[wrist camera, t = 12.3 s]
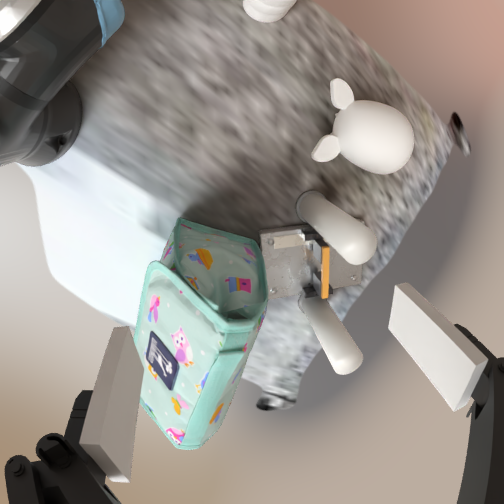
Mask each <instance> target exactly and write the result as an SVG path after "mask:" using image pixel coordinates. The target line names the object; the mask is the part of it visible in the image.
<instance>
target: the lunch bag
mask: <svg viewBox="0 0 504 504" xmlns="http://www.w3.org/2000/svg"><path fill="white" fill-rule="evenodd" d="M268 294H269V292H268V283H267V276H266V268H265V262H264V258H263V255H262V253H261V251H260V249H259V247H258V245H257V242H256V241H255V240H253V239H250V238H246V237H243V236H240V235H236V234H233V233H229V232H225V231H222V230H217V229H213V228H210V227H207V226H204V225H201V224H198V223H194V222H190V221H188V220H186V219H183V218H178V219H177V222H176V225H175V227H174V229H173V231H172V233H171V235H170V238H169V240H168V242H167V244H166V246H165V249H164V251H163V254H162V257H161V260H160V262H159V261H153V262H151V263H150V264H149V266H148V268H147V271H146V275H145V280H144V285H143V290H142V295H141V300H140V306H139V313H138V319H137V324H136V329H135V334H134V338H133V340H134V343H135V346H136V348H137V351H138V354H139V356H140V359H141V362H142V364H143V367H144V375H143V381H142V388H141V394H140V401H139V402H140V404H141V405H142V406H143V408H144V409H145V410H146V412H147V413H148V414H149V416H150V417H151V418H152V419H153V420H154V421H155V423H156V424H157V425H158V426H159V427H160V429H161V430H162V431H163V433H164V434H165V435H166V436H167V438H168V439H169V440H170V441H171V443H172V444H173V445H174V446H175V447H176V448H179V449H185V450H192V449H198V448H200V447H201V446H202V445H203V444H204V443H205V442H206V441H207V440H208V439H209V438H210V437H211V436H213V435H214V434H215V432H216V431H217V430H218V429H219V427H220V426H221V425H222V422H223V420H224V418H225V416H226V413H227V411H228V408H229V406H230V404H231V401H232V399H233V396H234V394H235V391H236V389H237V386H238V384H239V381H240V379H241V376H242V373H243V370H244V368H245V365H246V362H247V359H248V356H249V353H250V351H251V349H252V347H253V345H254V342H255V340H256V337H257V335H258V332H259V330H260V327H261V325H262V322H263V320H264V317H265V314H266V308H267V302H268Z"/></svg>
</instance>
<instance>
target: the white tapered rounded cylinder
mask: <svg viewBox="0 0 504 504" xmlns="http://www.w3.org/2000/svg"><path fill="white" fill-rule="evenodd" d="M298 306H299V308H300V310H301V311H302V312H303V313H304V314H305V315H306V317H307V318H308V320H309V322H310V324H311V326H312V328H313V330H314V332H315V334H316V336H317V338H318V339H319V341H320V343H321V345H322V347H323V349H324V351H325V353H326V355H327V357H328V359H329V361H330V362H331V364H332V366H333V368H334V370H335V372H336V373H338V374H341V375H343V374H349V373H351V372H353V371H355V370H356V369H357V368H358V367H359V366H360V365H361V363H362V361H363V355H362V353H361V351H360V350H359V348H358V347H357V345H356V344H355V342H354V341H353V339H352V338H351V336H350V335H349V333H348V332H347V330H346V329H345V327H344V325H343V324H342V322H341V321H340V319H339V318H338V316H337V315H336V313H335V312H334V310H333V309H332V307H331V306H330V304H329V303H328V302H327V298H324V299H322V297H320V296H316V297H311V298H305V297H304V295H303V294H301V295H300V297H299V300H298Z"/></svg>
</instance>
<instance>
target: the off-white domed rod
mask: <svg viewBox="0 0 504 504" xmlns="http://www.w3.org/2000/svg"><path fill="white" fill-rule="evenodd" d="M296 213H297V215H298V216H299V218H300V219H301V220H302V221H304V222H306V223H309V224H310V225H311V226H312V227H313V228H314V229H315V230H316V231H317V232H318V233H319V234H320V235H321V236H322V237H323V238H324V239H325V240H326V241H327V242H328V243H329V244H330V245H331V246H332V247H333V248H334V249H335V250H336V251H337V252H338V253H339V254H340V255H341V256H342V257H343V258H344V259H345V260H346V261H347V262H349V263H350V264H354V265H359V264H363V263H365V262H367V261H368V260H369V259H370V258H371V257H372V256H373V255H374V253H375V251H376V248H377V238H376V235H375V233H374V232H373V231H372V230H371V229H369V228H368V227H366V226H365V225H363V224H362V223H361V222H359V221H358V220H356V219H355V218H353V217H352V216H350V215H349V214H347V213H346V212H344V211H343V210H341V209H340V208H338V207H337V206H335V205H334V204H332V203H331V202H329V201H328V200H327V199H326V198H325V196H324V195H323V194H321V193H320V192H318V191H313V190H311V191H306V192H304V193H303V194H302V195H300V197H299V198H298V200H297V202H296Z"/></svg>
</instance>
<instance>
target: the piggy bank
mask: <svg viewBox="0 0 504 504" xmlns="http://www.w3.org/2000/svg"><path fill="white" fill-rule="evenodd" d="M330 89H331V100H332V103H333V105H334V106H335V107H336V108H339V109H341V110H340V111H339V113H336V114H335V117H336V118H335V121H334V125H333V132H332V133H330V135H325V136H323V137H322V138H321V139H320V140H319V142H318V143H317V145H316V146H315V148H314V150H313V151H312V153H311V157H312V159H314V160H315V161H318V162H326V161H330V160H332V159H333V158H335V157H336V156H337V155H338V154H339V153H341V154H342V155H343V156H344V157H345V158H346V159H348V160H349V161H350V162H352V163H353V164H355V165H357V166H358V167H360V168H362V169H364V170H367V171H369V172H372V173H376V174H390V173H393V172H396V171H398V170H399V169H401V168H402V167H403V166H404V165H405V164H406V163H407V161H408V160H409V158H410V156H411V154H412V151H413V147H414V133H413V129H412V126H411V124H410V122H409V121H408V119H407V118H406V117H405V116H404V115H403V114H402V113H401V112H400V111H398V110H397V109H395V108H393V107H391V106H389V105H386V104H383V103H379V102H375V101H368V100H358V101H354V95H353V92H352V90H351V88H350V86H349V85H348V84H347V83H346V82H345V81H344V80H342V79H340V78H336V79H333V80H331V82H330Z"/></svg>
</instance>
